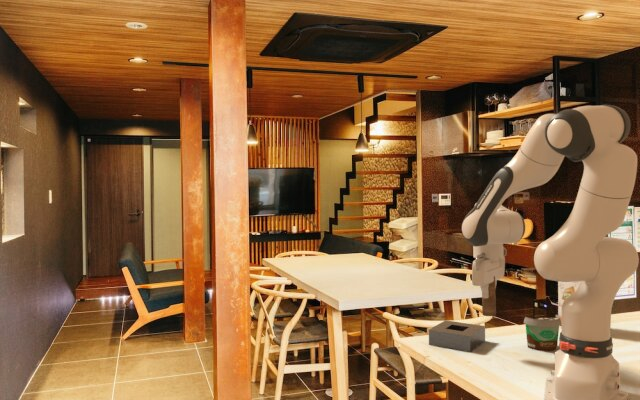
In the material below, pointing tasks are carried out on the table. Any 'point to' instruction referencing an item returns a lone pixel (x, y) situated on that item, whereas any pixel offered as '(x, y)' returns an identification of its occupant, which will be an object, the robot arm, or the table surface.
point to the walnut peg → (489, 301)
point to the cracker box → (565, 293)
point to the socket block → (457, 335)
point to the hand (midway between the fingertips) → (488, 296)
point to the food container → (542, 333)
